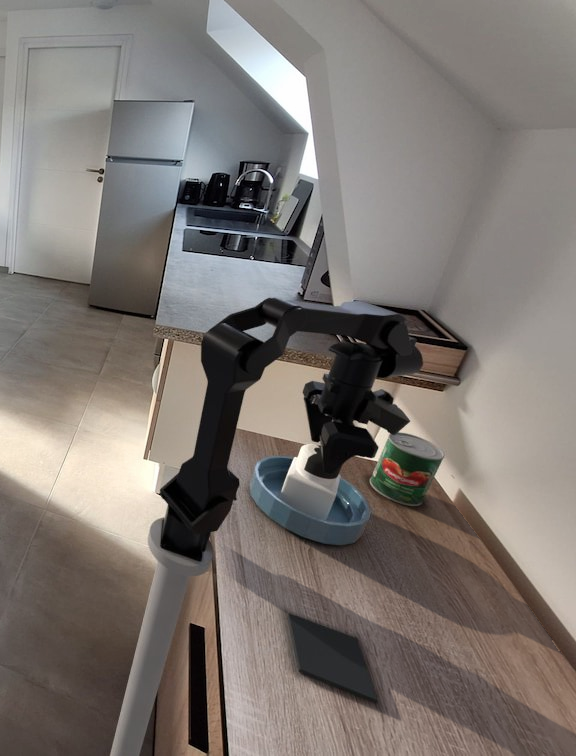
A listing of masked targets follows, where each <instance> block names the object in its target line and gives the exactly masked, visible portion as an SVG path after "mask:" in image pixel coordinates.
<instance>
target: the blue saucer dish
mask: <svg viewBox="0 0 576 756" xmlns="http://www.w3.org/2000/svg"><path fill="white" fill-rule="evenodd" d="M294 457H295V456H285V455H271V456H265V457H263V458H261V459H259V460H258V461H257V462H256V464H255V466H254V468H253V471H252V475H251V478H250V481H249V484H248V486H249V493H250V496H251V497H252V499H253V501H254V502H255V504H256V506H257V507H258V508H259V509H260V510H261V511H262V512H263V513H264V514H265V515H266V516H267V517H268V518H270V519H271V520H272V521H274V522H276V523H277V524H278V525H280V526H281V527H283V528H284V529H285V530H287V531H290V532H292V533H294V534H295V535H298V536H300V537H302V538H304V539H307V540H311V541H314V542H318V543H320V544H324V545H325V544H326V545H335V546H345V545H350V544H351V545H352V544H354V543H355V542H357V541H358V540H359V539H360V538H362V535H363V534H364V532H365V529H366V527H367V524H368V523H369V520H370V517H371V507H370V504H369V503H368V500H367V499H366V497H365V496H364V495H363V494H362V493H361V492H360V491H359V490H358V489H357V487H356V486H354V485H353V484H352V483H350V482H349V481H347V480H346V479H345V478H343V477H342V476H341V477H340V481H339V486H338V490H337V494H336V497H335V500H334V502H333V504H332V507H331V509H330V512H329V514H328V517H327V519H326V521H325V520H322V519H318V518H315V517H311V516H309V515H307V514H305V513H303V512H300V511H298V510H296V509H294V508H292V507H291V506H289V505H288V504H286V503H284V502H283V501H281V500H280V499H279V496H280V493H281V490H282V488H283V485H284V482H285V479H286V476H287V474H288V471H289V469H290V466H291V464H292V461H293V459H294Z"/></svg>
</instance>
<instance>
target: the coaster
mask: <svg viewBox="0 0 576 756" xmlns="http://www.w3.org/2000/svg"><path fill="white" fill-rule="evenodd" d="M287 619H288V626H289V630H290V636H291V640H292V645H293V650H294V655H295V660H296V666H297V670H298V673H300V674H303V675H306V676H308V677H310V678H313V679H315V680H318V681H320V682H323V683H325V684H327V685H330V686H332V687H335V688H337V689H339V690H342V691H345V692H347V693H350V694H351V695H354V696H357V697H359V698H361V699H364V700H367V701H369V702H371V703H374V704H377V703H378V701H379V700H378V697H377V693H376V691H375V687H374V685H373V681H372V679H371V675H370V673H369V670H368V667H367V664H366V661H365V658H364V654H363V651H362V647H361V645H360V642H359V640H358V637H355V636H353V635H349V634H347V633H344V632H341V631H339V630H337V629H333V628H330V627H328V626H326V625H323V624H320V623H317V622H315V621H311V620H309V619H306V618H303V617H301V616H298V615H296V614H293V613H291V612H288V614H287Z"/></svg>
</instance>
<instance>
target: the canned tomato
mask: <svg viewBox="0 0 576 756" xmlns="http://www.w3.org/2000/svg"><path fill="white" fill-rule="evenodd" d="M445 456H446V455H445V452H444V451H443V450H442V449H441V448H440V447H439V446H437V445H436V444H434V443H433V442H431V441H429V440H427V439H425V438H422V437H420V436H418V435H414V434H412V433H407V432H400V431H399V432H398V433H397V434H396V435H393V434H390V433H389V434H388V437H387V439H386V441H385V444H384V446H383V448H382V451H381V453H380V455H379V458H378V461H377V463H376V465H375V467H374V469H373V472H372V475H371V477H370V478H369V484H370V486H371V487H372V488H373V489H374V490H375V492H377V493H378V494H380V495H381V496H383V497H384V498H386V499H388V500H390V501H392V502H394V503H398V504H400V505H403V506H409V507H418V506H421V505H422V504H423V500H424V499H425V497H426V496H427V495H426V494H427V493H428V490H429V489H430V486H431V484H432V483H433V480H434V478H435V476H436V474H437V473H438V470H439V468H440V466H441V464H442V462H443V459H444V458H445Z"/></svg>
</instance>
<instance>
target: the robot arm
mask: <svg viewBox="0 0 576 756" xmlns="http://www.w3.org/2000/svg"><path fill="white" fill-rule="evenodd" d="M406 320H407V318H406V316H405V315H404V314H401V313H398V312H395V311H392V310H390V309H387V308H383V307H381V306H378V305H375V304H372V303H369V302H365V301H363V300H353V301H344V302H342V303H341V305H330V304H322V303H315V302H314V303H313V302H306V301H305V302H304V301H298V300H290V299H289V300H288V299H284V298H281V297H278V296H276V297H274V296H273V297H272V296H271V297H270V296H269V297H267V298H265V299H264V300H262V301H261V302H259V303H258V304H257V305H255V306H252V307H249V308H247V309H243V310H239V311H236V312H233V313H230V314H228V315H227V316H226V317H224V318H223V319H222V320H221V321H218V323H216V324H215V325H213V326H212V327H211V328H210V329H208V331H206V332H205V333H204V334H203V336H202V339H201V343H200V363H201V366H202V368H203V372H204V374H205V377H206V381H207V385H206V390H205V393H204V394H205V395H204V398H203V399H204V400H203V405H202V409H201V415H200V420H199V425H198V432H197V435H196V441H195V446H194V451H193V456H191V457H190V458H188V459H187V460H186V461H184V462H183V463H181V465H180V468H179V471H178V473H176V474H175V475H174V476H173V477H172V478H171V479H170V480H169V481H168V482H166V483H165V484H164V485H163V486H162V487H160V489H159V493H160V498H161V499H162V500H164V502H165V503H166V504H167V506H166V510H165V515H164V517H165V518H164V519H163V520H162V527H161V538H160V547H161V548H162V549H165V550H168V551H171V552H173V553H176V554H179V555H182V556H185V557H187V558H190V559H193V560H196V561H199V562H201V561H202V551H203V552H205V551H206V548H207V544H208V541H209V540H210V537H211V533H214V532H217V531H218V530H219V529H220V528H221V526H222V525H223V523H224V521H225V520H226V519H227V517H228V515H229V513H231V510H232V508H233V504H234V501H237V499H238V498H237V493H238V490H239V488H240V478H239V477H237V476H236V475H235V474H234V473H233V472H232V471H231V470H230V468H228V466H229V463H230V457H231V453H232V449H233V444H234V440H235V435H236V431H237V427H238V423H239V419H240V414H241V409H242V405H243V401H244V397H245V393H246V391H247V390H248V389H249V388H251V387H252V386H253V385H255V384H256V383H257V382H259V381H260V380H261V379H262V377H263V374H264V371H265V369H266V368H267V367H268V366H270V365H272V363H274V362H275V361H277V360H278V359H279V358H281V357H282V356H283V355H284V353H285V351H286V348H287V346H288V343H289V340H290V338H291V337H292V336H293V335H295V334H296V333H297V332H299V333H300V332H301V333H310V334H320V335H321V334H323V335H330V336H331V335H333V336H342V337H349V338H352V339H355V340H357V341H351V340H348V339H345V338H343V339H342V340H340V341H338V342H336V343H334V344H331V345H330V346H329V347H328V349H327V350H328V352H331V353H333V354H335V355H334V359H333V360H332V364H331V366H330V369H329V372H328V373H323V375H322V378H321V379H322V381H323V382H320V381H316V380H311V381H309V382H306V383H305V384H304V387H303V389H302V395H303V402H304V407H305V412H306V417H307V422H308V429H309V434H310V440H311V442H313V443H316V444H317V443H318V444H319V443H320V446H321V452H322V462H323V470H324V472H325V473H329V474H332V473H334V472H335V471H336V470H337V469H338V468H339V467H340V466H341V465H342V464H343V465H344V464H345V463H346V462H348V461H349V460H350V459H351V458H353V457H360V458H368V459H374V458H375V457H376V455H377V453H378V450H379V449H380V448H379V445H378V444H377V442H376V440H375V439H374V437H373V435H372V434H371V433H370V432H369V430H368V429H367V428H366V427H360V426H357V425H355V424H354V421H355V422H357V423H359V424H363V425H368V424H369V422H371V423H372V424H374V425H376V426H378V427H380V428H382V429H383V430H386V431H387V433H389V434H393V435H396V434H397V433H398V432H400V431H401V430H403V429H404V428H405V427H406V426H408V424H410V423H411V420H410V419H409V417H408V416H407V415H406V413H405V412H404V410H402V408H400V407H399V406H398V405H397V404H396V403H394V400H395V398H394V396H393V395H392V394H391V393H390V392H388V391H387V390H385V389H382V388H381V389H378V390H377V389H376V390H375V391H373V390H372V389H373V386H374V385H375V381H376V378H378V379H387V378H396V377H403V376H411V375H415V374H417V373H418V372H419V371H420V370H421V369H422V368H423V366H424V358H423V355H422V352H421V351H420V349H419V348H418V347H417V346H416V343H417V341H418V340H417V338H414V337H411V336H410V335H409V334H410V333H409V330H408V325H407V324H406V323H405V321H406ZM266 324H269V325H270V326H273V327H274V328H275V329H274V331H273V333H272V336H271V337H269V338H268V339H267V340H266V341H263V340H261V339H259V338H257V337H255V336H253V335H251V334H249V333H247V332H245V331H250V330H251V329H252V330H253V329H254V328H258V327H262V326H264V325H266ZM359 341H360V342H359ZM343 465H342V466H343Z"/></svg>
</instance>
